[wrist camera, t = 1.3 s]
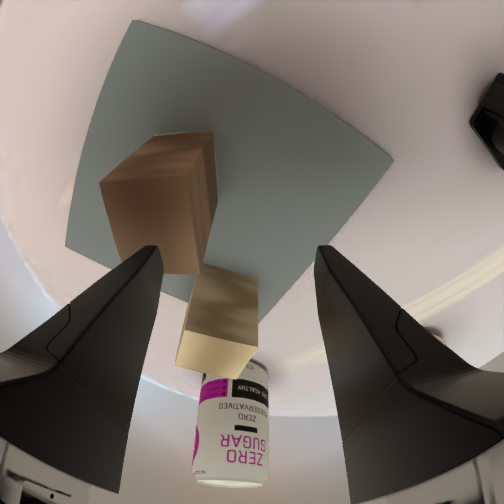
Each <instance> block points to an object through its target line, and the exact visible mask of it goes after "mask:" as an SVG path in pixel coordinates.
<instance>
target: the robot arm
mask: <svg viewBox="0 0 504 504" xmlns="http://www.w3.org/2000/svg"><path fill="white" fill-rule="evenodd" d="M503 79H504V73H499V75H498V76H497V78H496V80H495V82H494V83H493V85H492V87H491V88H490V90H489V92H488V93H487V95H486V97H485V98H484V100H483V101H482V103H481V105H480V106H479V108H478V109H477V111H476V112H475V114H474V115H473V117H472V118H471V121H470V125H471V127H472V128H473V130H474V131H475V132H476V134H477V135H478V136H479V138H480V139H481V140H482V142H483V143H484V145H485V146H486V147H487V149H488V150H489V152H490V153H491V155H492V156H493V158H494V159H495V161H496V162H497V164H498V165H499V167H500V168H501V169H503V170H504V165H503V164H504V80H503ZM476 122H477V124H476V125H475V123H476ZM163 274H164V266H163V262H162V258H161V253H160V249H159V247H158V246H157V245H146V246H144V247H143V248H141V249H140V250H138V251H137V252H136V253H134V254H133V255H132V256H130V257H129V258H127V259H126V260H125V261H123V262H122V263H121V264H119V265H118V266H117V267H115V268H114V269H112V270H111V271H110V272H108V273H107V274H106V275H104V276H103V277H102V278H101V279H99V280H98V281H97V282H95V283H94V284H93V285H91V286H90V287H89V288H88V289H86V290H85V291H84V292H82V293H81V294H80V295H79V296H77V297H76V298H75V299H74V300H72V301H71V302H70V304H67V305H66V306H65V307H64V308H62V309H61V310H60V311H59V312H57V313H56V314H55V315H54V316H52V317H51V318H50V319H49V320H47V321H46V322H44V323H43V324H42V325H40V326H39V327H38V328H36V329H35V330H34V331H32V332H31V333H29V334H28V335H27V336H25V337H24V338H23V339H21V340H20V341H19V342H17V343H16V344H15V345H13V346H12V347H11V348H9V349H8V350H6V351H4V352H2V353H0V504H88V500H89V494H90V489H91V485H92V486H95V487H98V488H101V489H104V490H107V491H110V492H114V493H117V494H118V493H119V488H120V482H121V474H122V468H123V462H124V456H125V450H126V444H127V439H128V432H129V427H130V422H131V417H132V412H133V408H134V403H135V398H136V394H137V389H138V385H139V380H140V376H141V372H142V368H143V364H144V360H145V356H146V352H147V348H148V344H149V340H150V337H151V333H152V329H153V326H154V322H155V318H156V314H157V309H158V303H159V297H160V291H161V285H162V280H163ZM314 278H315V287H316V297H317V308H318V316H319V321H320V326H321V331H322V335H323V340H324V345H325V350H326V355H327V359H328V364H329V369H330V375H331V380H332V385H333V390H334V396H335V401H336V407H337V413H338V418H339V424H340V430H341V436H342V441H343V450H344V457H345V464H346V471H347V478H348V486H349V494H350V502H351V504H360V503H365V502H369V501H374V500H377V499H382V498H386V499H387V504H504V373H501V372H491V371H485V370H481V369H478V368H475V367H473V366H472V365H470V364H468V363H467V362H466V361H464V360H463V359H462V358H461V357H459V356H458V355H457V354H456V353H455V352H453V351H452V350H451V349H450V348H448V347H447V346H446V345H445V344H443V343H442V342H441V341H440V340H438V339H437V338H436V337H435V336H434V335H432V334H431V333H430V332H429V331H428V330H426V329H425V328H424V327H423V326H422V325H420V324H419V323H418V322H417V321H416V320H415V319H414V318H413V317H412V316H410V315H409V314H408V313H407V312H406V311H405V310H404V309H403V308H401V306H400V305H398V304H397V303H396V302H395V301H394V300H393V299H392V298H391V297H390V296H389V295H387V294H386V293H385V292H384V291H383V290H382V289H381V288H380V287H379V286H377V285H376V284H375V283H374V282H373V281H372V280H371V279H370V278H368V277H367V276H366V275H365V274H364V273H363V272H362V271H360V270H359V269H358V268H357V267H356V266H355V265H354V264H352V263H351V262H350V261H349V260H348V259H347V258H345V257H344V256H343V255H342V254H341V253H340V252H338V251H337V250H336V249H335V248H334V247H332V246H331V245H319V246H318V247H317V251H316V258H315V264H314Z"/></svg>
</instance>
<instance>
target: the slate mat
mask: <svg viewBox="0 0 504 504" xmlns="http://www.w3.org/2000/svg"><path fill="white" fill-rule="evenodd" d="M196 131H214V138H215V155H216V171H217V185H218V199H219V200H218V204H217V207H216V211H215V215H214V219H213V223H212V227H211V231H210V235H209V239H208V244H207V248H206V252H205V256H204V260H203V263H204V264H208V265H211V266H215V267H218V268H222V269H225V270H229V271H233V272H236V273H240V274H243V275H247V276H251V277H254V278H258V323H259V322H260V321H261V320H262V319H263V318H264V317H265V316H266V315H267V313H268V312H269V311H270V310H271V309H272V308H273V307H274V306H275V305H276V304H277V302H278V301H279V300H280V299H281V298H282V297H283V296H284V295H285V293H286V292H287V291H288V290H289V289H290V288H291V287H292V286H293V284H294V283H295V282H296V281H297V280H298V279H299V278H300V276H301V275H302V274H303V273H304V272H305V271H306V269H307V268H308V267H309V266H310V265H311V264H312V262H313V261H314V260H315V258H316V251H317V247H318V246H319V245H328V244H329V242H330V241H331V240H332V239H333V238H334V236H335V235H336V234H337V233H338V231H339V230H340V229H341V228H342V227H343V225H344V224H345V223H346V222H347V220H348V219H349V218H350V217H351V216H352V214H353V213H354V212H355V211H356V209H357V208H358V207H359V206H360V204H361V203H362V202H363V201H364V199H365V198H366V197H367V195H368V194H369V193H370V192H371V190H372V189H373V188H374V187H375V185H376V184H377V183H378V181H379V180H380V179H381V177H382V176H383V175H384V174H385V172H386V171H387V170H388V168H389V167H390V166H391V164H392V163H393V162H394V159H392V158H391V157H390V156H389V155H388V154H386V153H385V152H384V151H383V150H381V149H380V148H379V147H378V146H376V145H375V144H374V143H372V142H371V141H370V140H369V139H367V138H366V137H365V136H363V135H362V134H361V133H359V132H358V131H356V130H355V129H354V128H352V127H351V126H350V125H348V124H347V123H345V122H344V121H342V120H341V119H340V118H338V117H337V116H335V115H334V114H332V113H331V112H329V111H328V110H326V109H325V108H323V107H322V106H320V105H319V104H317V103H315V102H314V101H312V100H311V99H309V98H308V97H306V96H304V95H303V94H301V93H299V92H298V91H296V90H294V89H293V88H291V87H289V86H287V85H286V84H284V83H282V82H280V81H279V80H277V79H275V78H273V77H271V76H270V75H268V74H266V73H264V72H262V71H260V70H258V69H256V68H254V67H252V66H250V65H248V64H246V63H244V62H242V61H240V60H238V59H236V58H234V57H232V56H230V55H228V54H225V53H223V52H221V51H219V50H216V49H214V48H212V47H209V46H207V45H205V44H202V43H200V42H197V41H195V40H192V39H190V38H187V37H184V36H182V35H179V34H176V33H174V32H171V31H168V30H165V29H162V28H159V27H156V26H153V25H150V24H146V23H143V22H140V21H136V20H132V22H131V24H130V26H129V28H128V30H127V32H126V34H125V36H124V38H123V40H122V42H121V44H120V46H119V48H118V51H117V53H116V55H115V57H114V60H113V62H112V64H111V67H110V69H109V72H108V74H107V77H106V79H105V82H104V84H103V87H102V90H101V92H100V95H99V98H98V101H97V104H96V107H95V110H94V113H93V116H92V119H91V122H90V125H89V129H88V132H87V136H86V139H85V143H84V147H83V150H82V154H81V158H80V163H79V167H78V171H77V176H76V180H75V185H74V190H73V196H72V201H71V207H70V213H69V220H68V227H67V234H66V243H65V247H67V248H69V249H71V250H73V251H75V252H77V253H79V254H81V255H83V256H85V257H87V258H89V259H91V260H93V261H95V262H97V263H100V264H102V265H104V266H106V267H108V268H110V269H114V268H115V267H117V266H118V265H119V264H121V263H122V262H121V259H120V256H119V253H118V250H117V247H116V244H115V240H114V237H113V234H112V230H111V227H110V223H109V220H108V216H107V213H106V209H105V205H104V201H103V197H102V193H101V189H100V185H99V182H100V181H101V180H102V179H103V178H104V177H105V176H107V175H108V174H109V173H110V172H111V171H112V170H113V169H114V168H116V167H117V166H118V165H119V164H120V163H121V162H122V161H124V160H125V159H126V158H127V157H128V156H129V155H131V154H132V153H133V152H134V151H135V150H137V149H138V148H139V147H140V146H142V145H143V144H144V143H145V142H147V141H148V140H149V139H150V138H152V137H153V136H154V135H161V134H171V133H182V132H196ZM196 275H197V274H163V280H162V285H161V292H164V293H166V294H168V295H171V296H173V297H175V298H178V299H180V300H183V301H185V302H189V299H190V295H191V292H192V288H193V285H194V281H195V278H196Z"/></svg>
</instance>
